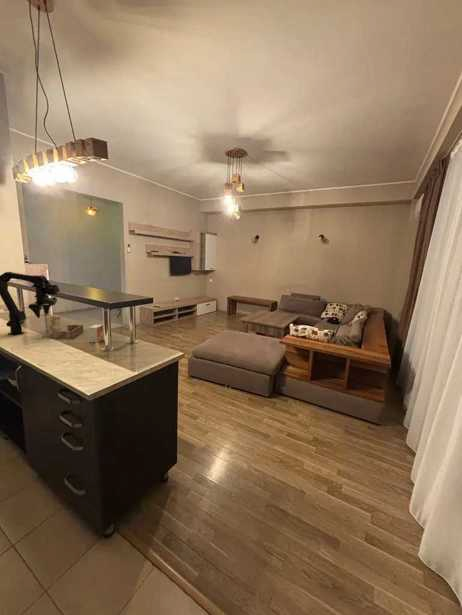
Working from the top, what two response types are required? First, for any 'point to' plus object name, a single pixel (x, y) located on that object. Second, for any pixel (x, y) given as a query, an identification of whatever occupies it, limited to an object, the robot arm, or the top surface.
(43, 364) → the top surface
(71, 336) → the walnut crate
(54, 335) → the slate mat
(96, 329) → the small box
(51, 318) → the ash block
